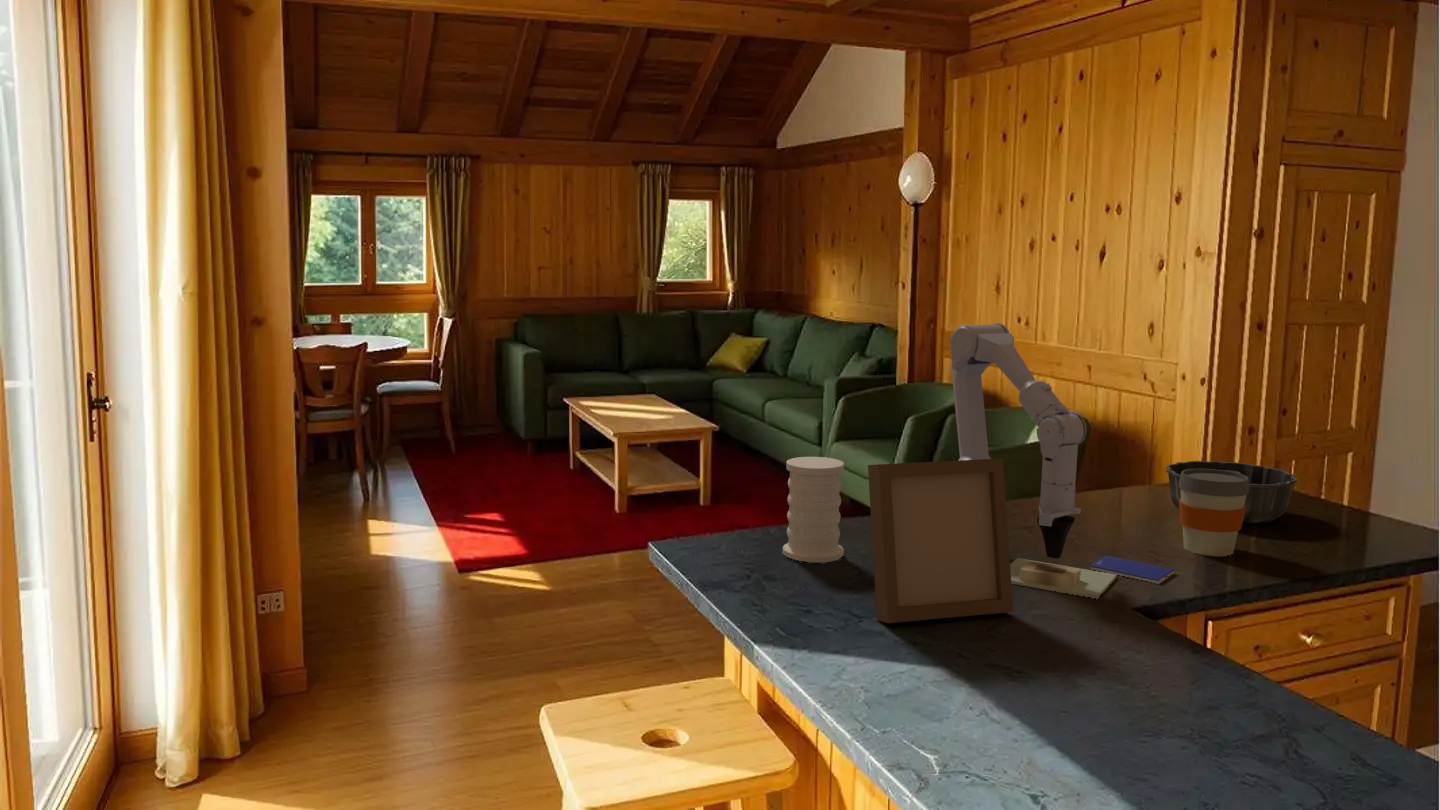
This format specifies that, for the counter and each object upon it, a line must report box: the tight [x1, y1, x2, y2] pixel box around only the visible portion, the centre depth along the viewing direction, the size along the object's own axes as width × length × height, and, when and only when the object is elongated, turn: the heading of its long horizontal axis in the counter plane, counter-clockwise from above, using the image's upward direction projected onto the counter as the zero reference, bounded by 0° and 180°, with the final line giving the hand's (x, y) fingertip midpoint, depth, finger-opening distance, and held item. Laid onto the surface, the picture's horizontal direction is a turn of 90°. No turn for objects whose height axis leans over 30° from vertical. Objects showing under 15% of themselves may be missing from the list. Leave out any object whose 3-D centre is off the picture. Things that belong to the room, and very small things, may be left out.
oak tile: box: [1020, 560, 1082, 589], centre depth 194 cm, size 9×2×6 cm
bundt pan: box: [1165, 460, 1298, 524], centre depth 243 cm, size 26×26×10 cm
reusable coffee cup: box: [1178, 469, 1249, 557], centre depth 215 cm, size 13×13×15 cm
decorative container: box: [782, 456, 845, 562], centre depth 208 cm, size 12×12×18 cm
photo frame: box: [867, 458, 1014, 624], centre depth 179 cm, size 15×22×25 cm
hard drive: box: [1089, 555, 1175, 585], centre depth 201 cm, size 2×8×12 cm
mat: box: [1010, 557, 1117, 600], centre depth 196 cm, size 18×14×1 cm
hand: (1053, 556), depth 194 cm, fingers closed
